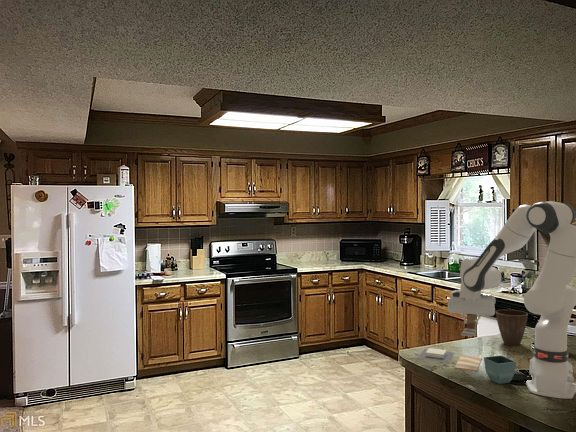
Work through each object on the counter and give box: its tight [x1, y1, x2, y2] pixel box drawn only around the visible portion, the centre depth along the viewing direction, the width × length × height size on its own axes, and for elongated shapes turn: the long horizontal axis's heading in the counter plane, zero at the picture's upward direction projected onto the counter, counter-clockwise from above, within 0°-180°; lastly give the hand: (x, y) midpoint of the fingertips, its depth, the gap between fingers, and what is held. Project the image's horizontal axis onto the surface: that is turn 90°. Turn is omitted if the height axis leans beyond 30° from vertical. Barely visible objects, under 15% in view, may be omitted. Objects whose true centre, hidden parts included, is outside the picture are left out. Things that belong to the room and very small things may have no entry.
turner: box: [460, 314, 477, 337], centre depth 219 cm, size 15×5×7 cm, turn 153°
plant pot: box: [495, 309, 529, 347], centre depth 251 cm, size 15×15×16 cm
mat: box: [417, 348, 455, 363], centre depth 231 cm, size 16×14×1 cm
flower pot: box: [483, 355, 517, 385], centre depth 197 cm, size 9×9×9 cm
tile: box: [426, 347, 448, 359], centre depth 231 cm, size 2×8×8 cm
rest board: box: [454, 354, 483, 373], centre depth 219 cm, size 20×9×1 cm, turn 153°
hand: (471, 323), depth 224 cm, fingers closed on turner, 3 cm apart
